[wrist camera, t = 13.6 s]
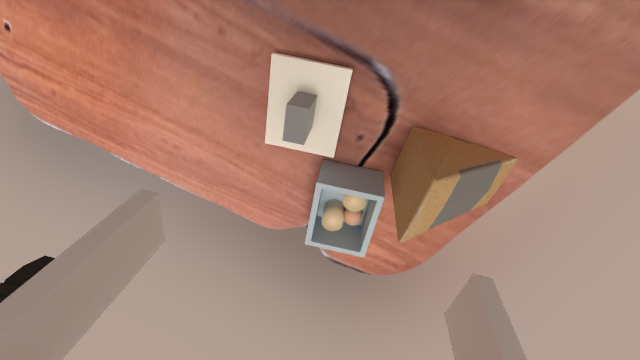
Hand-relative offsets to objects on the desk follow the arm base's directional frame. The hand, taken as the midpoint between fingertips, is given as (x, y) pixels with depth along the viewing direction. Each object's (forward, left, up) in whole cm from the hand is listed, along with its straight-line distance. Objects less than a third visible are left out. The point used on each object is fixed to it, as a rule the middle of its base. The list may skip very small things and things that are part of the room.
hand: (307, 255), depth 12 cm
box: (+16, +3, -30) cm, 35 cm away
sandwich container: (+8, +17, -31) cm, 36 cm away
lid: (+3, -5, -30) cm, 30 cm away
